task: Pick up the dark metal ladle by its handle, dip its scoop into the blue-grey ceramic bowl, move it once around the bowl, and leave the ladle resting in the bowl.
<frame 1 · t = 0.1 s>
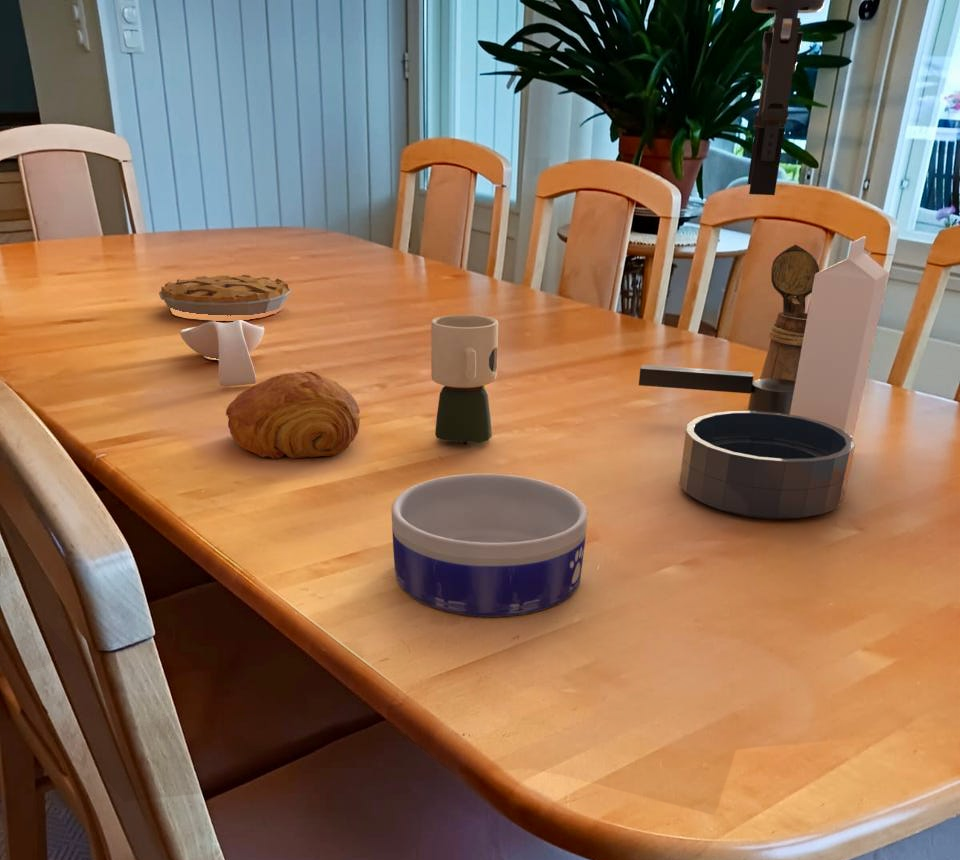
hand: (760, 189, 113), 25 cm above the table, tool pointing down, fingers open, 13 cm apart
pie: (227, 311, 168), on the table
dog bowl: (487, 577, 79), on the table
croissant: (295, 441, 108), on the table
brown wooden tall piece: (783, 402, 125), on the table
milk: (816, 454, 107), on the table
character mug: (463, 442, 109), on the table
serving bowl: (758, 493, 96), on the table
spoon rest: (230, 367, 135), on the table
ladle: (771, 427, 115), on the table
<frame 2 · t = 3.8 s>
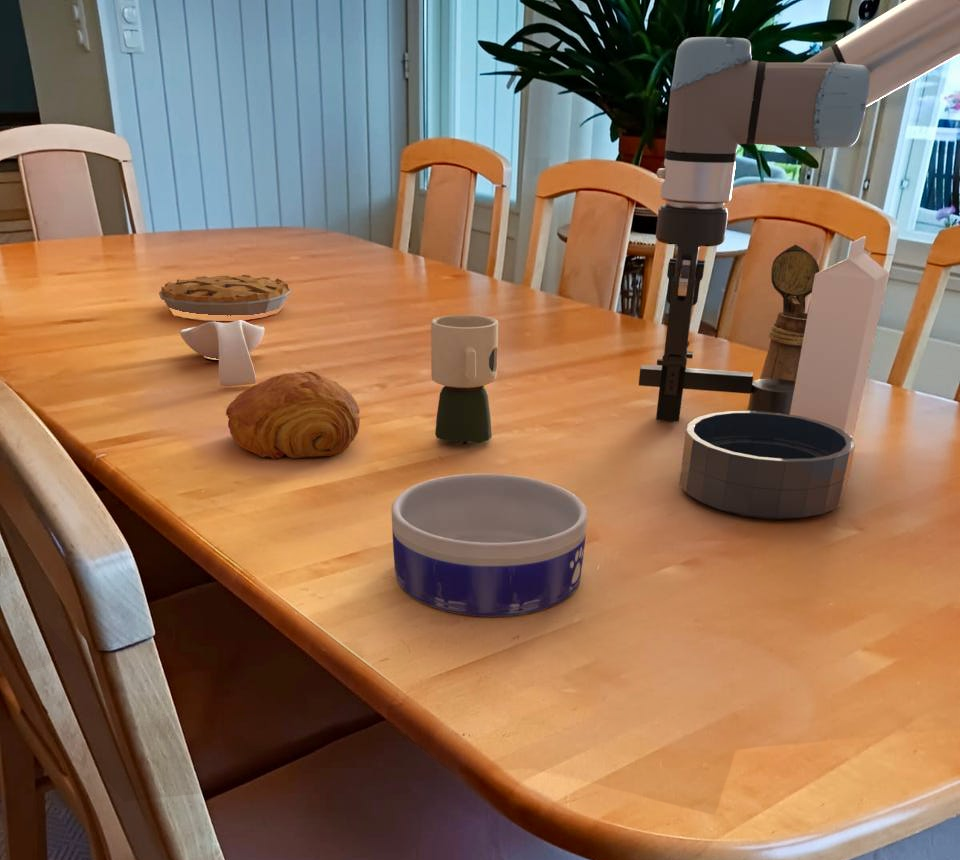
hand: (668, 416, 117), 0 cm above the table, tool pointing down, fingers closed on ladle, 2 cm apart
ladle: (771, 427, 115), on the table, touching gripper
everything else where it was.
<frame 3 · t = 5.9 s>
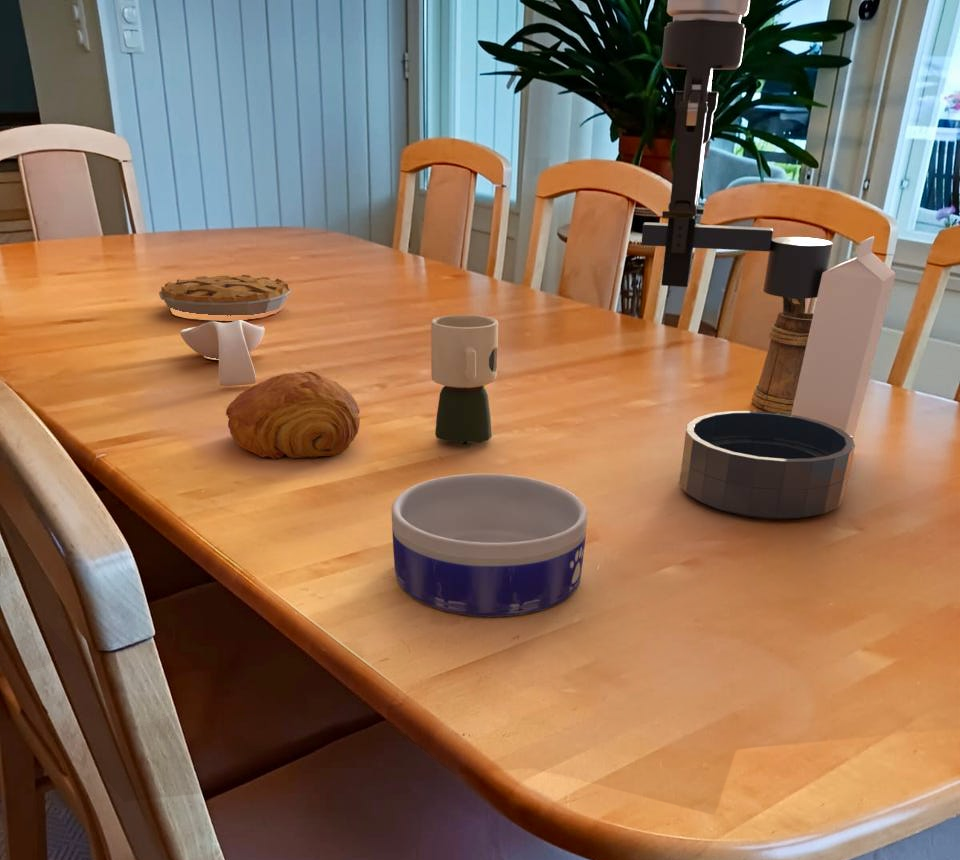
hand: (675, 283, 103), 17 cm above the table, tool pointing down, fingers closed on ladle, 2 cm apart
ladle: (792, 292, 101), point 16 cm above the table, touching gripper
everything else where it was.
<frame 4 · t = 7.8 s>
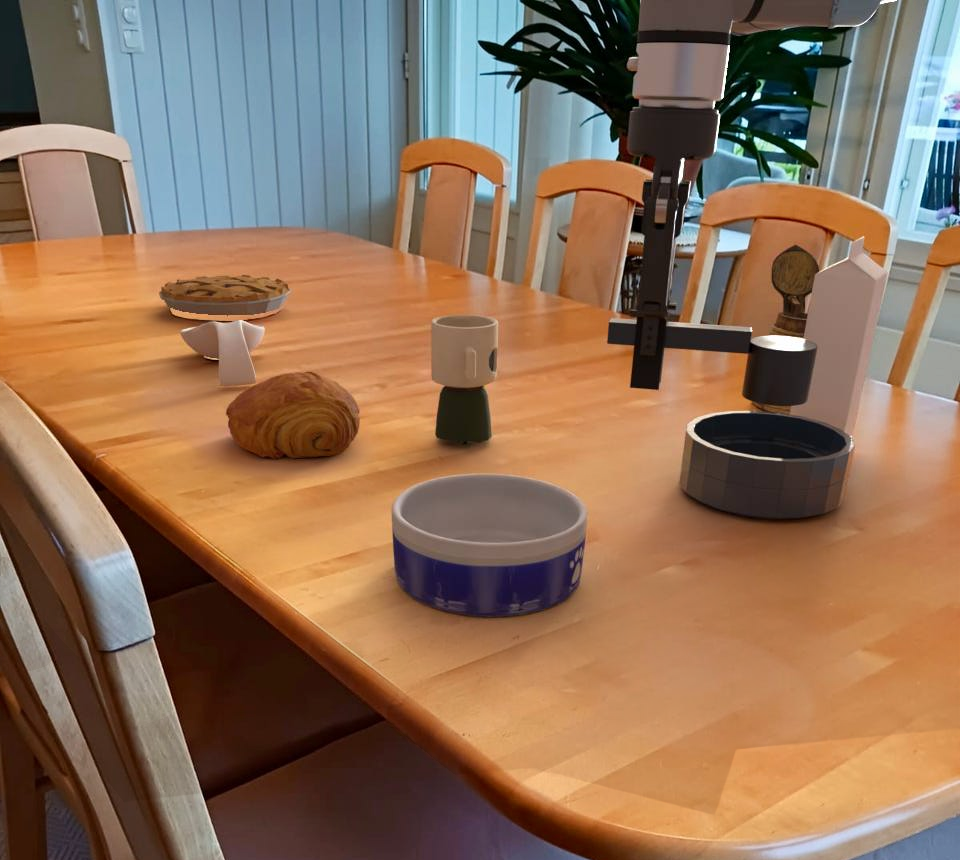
hand: (645, 383, 93), 10 cm above the table, tool pointing down, fingers closed on ladle, 2 cm apart
ladle: (774, 397, 91), point 10 cm above the table, touching gripper
everything else where it was.
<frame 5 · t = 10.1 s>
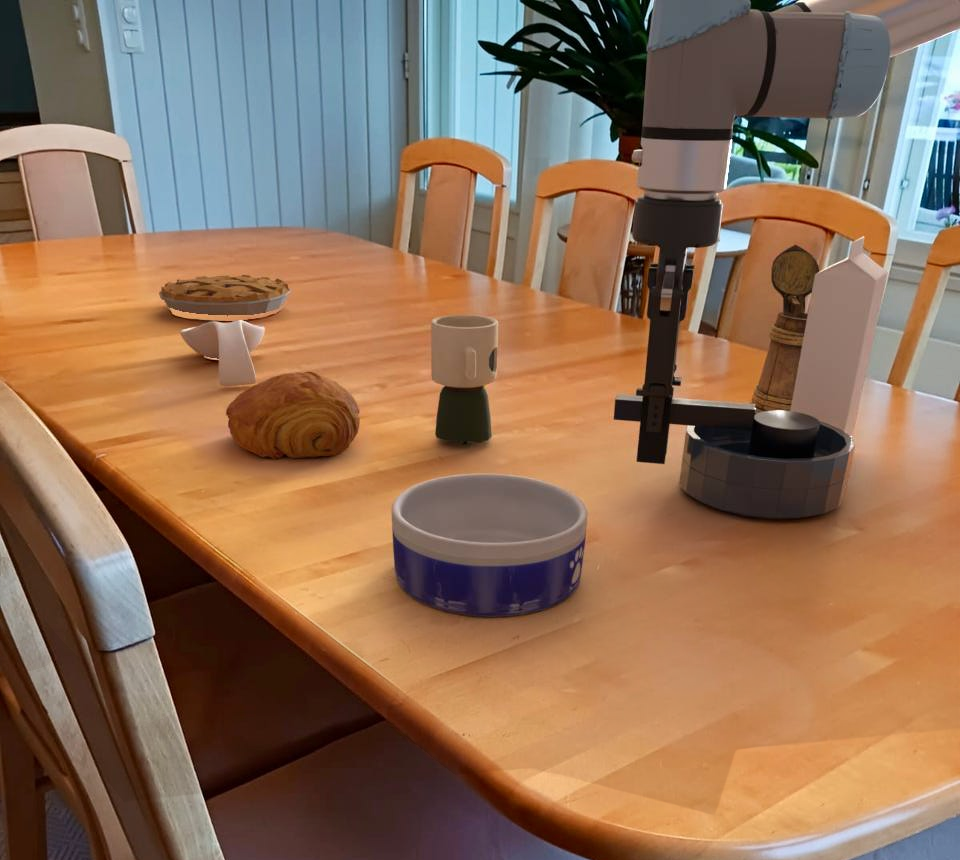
hand: (651, 456, 95), 3 cm above the table, tool pointing down, fingers closed on ladle, 2 cm apart
ladle: (777, 470, 93), point 3 cm above the table, touching gripper
everything else where it was.
when the fingers open (2 cm above the table, at t = 12.1 s): ladle drops 1 cm, resting on serving bowl.
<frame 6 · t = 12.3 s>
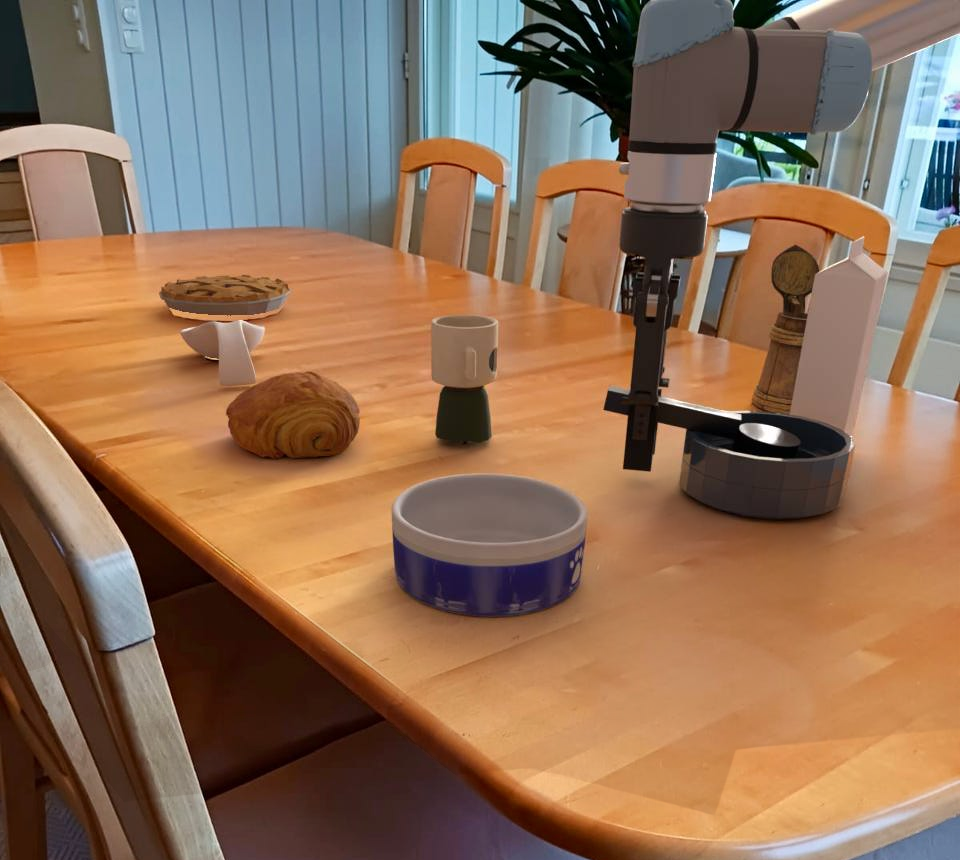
hand: (639, 460, 97), 2 cm above the table, tool pointing down, fingers open, 4 cm apart
ladle: (753, 482, 96), point 1 cm above the table, tilted 8°, touching serving bowl
everything else where it was.
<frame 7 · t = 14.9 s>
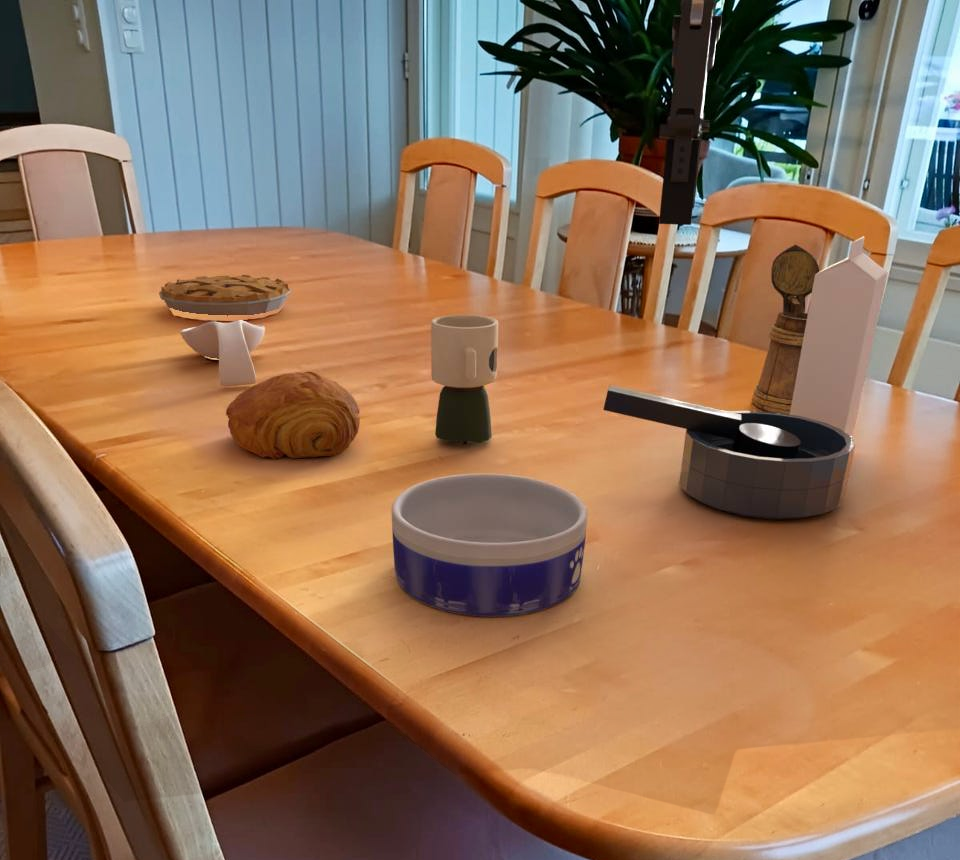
hand: (677, 215, 89), 24 cm above the table, tool pointing down, fingers open, 13 cm apart
nothing on the table moved.
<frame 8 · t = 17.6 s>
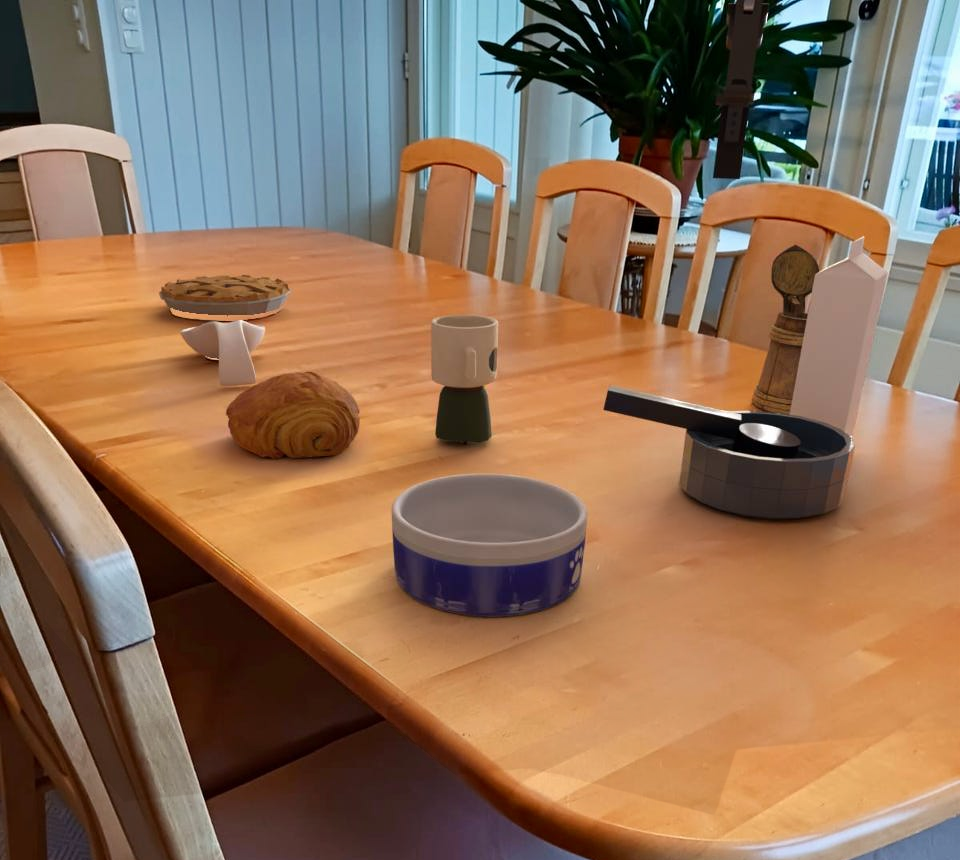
hand: (726, 174, 105), 27 cm above the table, tool pointing down, fingers open, 13 cm apart
nothing on the table moved.
at the end: ladle inside the target area in the serving bowl (0.7 cm from its centre), point 1.0 cm above the serving bowl's base; ladle moved 23.2 cm from its start; the gripper is holding nothing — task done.
